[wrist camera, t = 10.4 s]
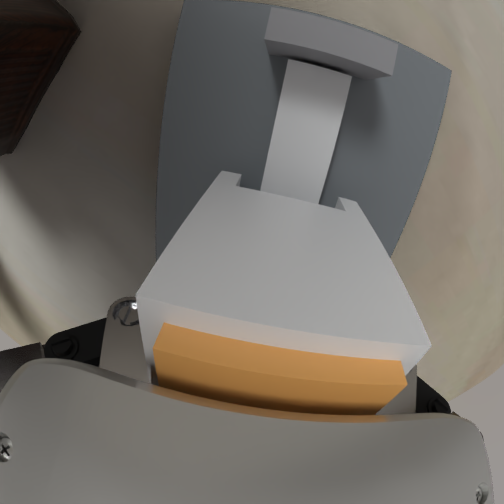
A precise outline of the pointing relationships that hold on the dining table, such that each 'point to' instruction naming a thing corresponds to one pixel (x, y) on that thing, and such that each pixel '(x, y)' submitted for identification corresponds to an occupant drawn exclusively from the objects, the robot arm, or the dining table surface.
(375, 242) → the module
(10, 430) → the robot arm
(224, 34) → the rail board
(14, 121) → the pepper mill
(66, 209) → the dining table surface
